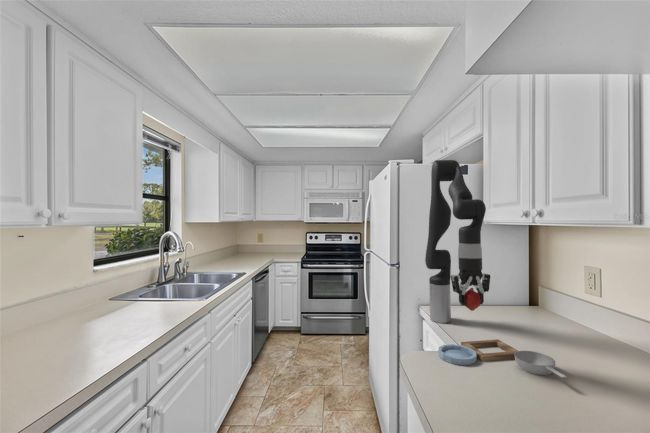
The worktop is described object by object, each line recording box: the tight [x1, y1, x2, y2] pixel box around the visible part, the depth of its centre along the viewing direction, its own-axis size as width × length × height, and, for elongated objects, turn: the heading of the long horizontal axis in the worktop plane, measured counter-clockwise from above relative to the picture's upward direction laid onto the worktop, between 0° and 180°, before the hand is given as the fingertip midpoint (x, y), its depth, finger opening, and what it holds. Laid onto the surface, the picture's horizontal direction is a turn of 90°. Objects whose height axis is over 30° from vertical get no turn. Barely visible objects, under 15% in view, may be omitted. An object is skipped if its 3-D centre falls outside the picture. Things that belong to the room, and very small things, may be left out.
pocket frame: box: [460, 339, 519, 362], centre depth 110 cm, size 12×15×2 cm
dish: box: [438, 343, 478, 366], centre depth 107 cm, size 12×12×2 cm
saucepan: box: [514, 350, 568, 379], centre depth 94 cm, size 11×18×4 cm, turn 0°
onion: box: [464, 287, 482, 312], centre depth 108 cm, size 6×6×8 cm
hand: (471, 304), depth 108 cm, fingers closed on onion, 6 cm apart
